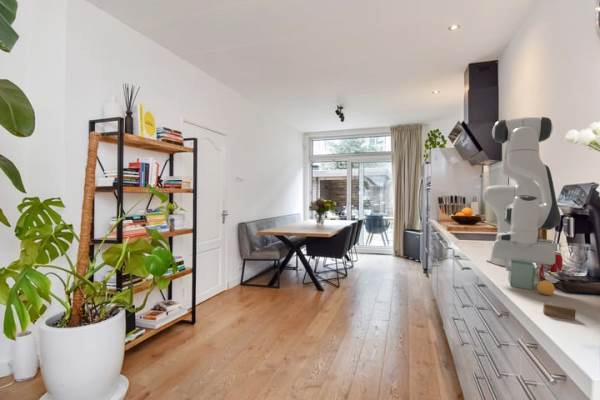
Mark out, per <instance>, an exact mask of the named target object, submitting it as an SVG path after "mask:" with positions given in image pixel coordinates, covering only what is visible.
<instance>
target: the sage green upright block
mask: <svg viewBox="0 0 600 400" xmlns="http://www.w3.org/2000/svg"><path fill="white" fill-rule="evenodd" d="M509 266H510V267H511V269H510V271H508V275H507V276H508V278H507V279H508V283H509V286H510V287H514V288H518V289H519V288H521V289H527V290H531V291H533V290H534V282H535V275H534V271H535V268H536V266H535V263H532V262H524V261H516V260H510V261H509Z"/></svg>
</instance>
